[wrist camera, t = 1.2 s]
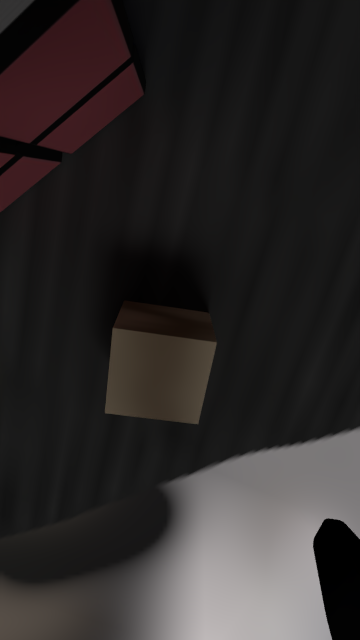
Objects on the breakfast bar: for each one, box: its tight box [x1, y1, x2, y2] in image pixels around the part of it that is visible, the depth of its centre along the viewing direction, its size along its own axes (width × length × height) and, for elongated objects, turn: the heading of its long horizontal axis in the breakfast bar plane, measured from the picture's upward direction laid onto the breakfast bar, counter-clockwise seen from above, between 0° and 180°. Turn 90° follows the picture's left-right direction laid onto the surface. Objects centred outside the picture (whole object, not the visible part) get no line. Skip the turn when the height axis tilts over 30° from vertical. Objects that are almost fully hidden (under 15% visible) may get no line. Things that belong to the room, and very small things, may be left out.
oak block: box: [105, 300, 217, 424], centre depth 18 cm, size 5×5×4 cm
